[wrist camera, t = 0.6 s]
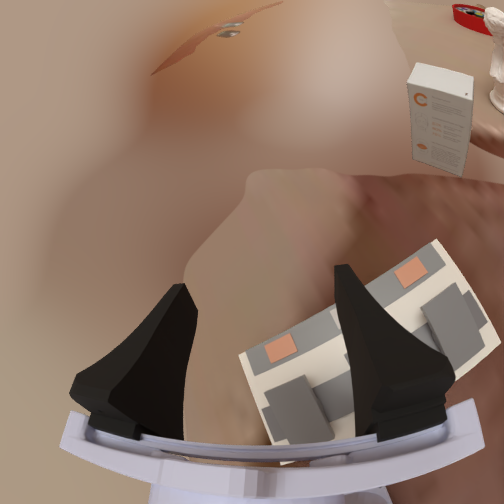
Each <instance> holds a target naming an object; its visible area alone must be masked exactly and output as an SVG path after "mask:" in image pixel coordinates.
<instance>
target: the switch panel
mask: <svg viewBox="0 0 504 504" xmlns="http://www.w3.org/2000/svg"><path fill="white" fill-rule="evenodd" d="M454 282H456V284H457V286H458V288H459V290H460V291H461V293H462V295H463V297H464V299H465V301H466V303H467V305H468V307H469V310H470V312H471V314H472V316H473V318H474V320H475V323H476V325H477V327H478V329H479V332H480V334H481V337H482V339H483V342H484V344H485V347H484V348H483V349H482V350H481V351H479V352H478V353H477V354H476V355H475V356H473V357H472V358H471V359H470V360H469V361H467V362H466V363H465V364H464V365H462V366H461V367H460V368H458V369H457V370H456V371H454V372H455V375H456V380H458V379H459V378H460V377H462V376H463V375H464V374H465V373H467V372H468V371H469V370H470V369H472V368H473V367H474V366H475V365H477V364H478V363H479V362H480V361H481V360H482V359H484V358H485V357H486V356H487V355H488V354H489V353H490V352H491V351H493V350H494V349H495V348H496V347H497V346H498V345H499V344H500V343H501V341H500V339H499V337H498V335H497V333H496V331H495V329H494V327H493V325H492V323H491V322H490V320H489V318H488V316H487V314H486V312H485V311H484V309H483V307H482V305H481V304H480V302H479V300H478V299H477V297H476V295H475V294H474V292H473V290H472V289H471V287H470V286H469V284H468V283H467V281H466V279H465V278H464V276H463V275H462V273H461V272H460V270H459V269H458V268H457V266H456V265H455V263H454V262H453V260H452V259H451V258H450V256H449V255H448V253H447V252H446V251H445V249H444V248H443V247H442V245H441V244H440V243H439V241H438V240H437V239H435V240H434V241H433V242H431V243H430V242H429V243H428V244H427V245H425V246H424V247H423V248H421V249H420V250H418V251H417V252H415V253H414V254H413V255H411V256H410V257H408V258H407V259H405V260H404V261H402V262H401V263H399V264H398V265H396V266H395V267H393V268H392V269H390V270H389V271H387V272H386V273H384V274H383V275H381V276H380V277H378V278H376V279H375V280H373V281H372V282H370V283H369V284H367V285H365V288H366V289H367V290H368V291H369V292H370V294H371V295H372V296H373V297H374V298H375V300H376V301H377V302H378V303H379V304H380V305H381V306H382V307H383V308H384V309H385V310H386V311H387V312H388V313H389V314H390V315H391V316H392V317H393V318H394V319H395V320H396V321H397V322H398V323H399V324H400V325H402V326H403V327H404V328H405V329H406V330H408V331H409V332H410V333H412V334H413V335H414V336H415V337H417V338H418V339H419V340H421V341H422V342H424V343H425V344H427V345H428V346H430V347H431V348H433V349H435V350H436V351H438V352H440V353H442V352H441V350H440V348H439V347H438V346H437V345H436V343H435V341H434V339H433V337H432V331H431V329H430V327H429V325H428V323H427V321H426V319H425V317H424V315H423V313H422V311H421V309H420V307H421V306H423V305H424V304H426V303H427V302H428V301H430V300H431V299H432V298H434V297H435V296H436V295H438V294H439V293H440V292H442V291H443V290H444V289H446V288H447V287H448V286H450V285H451V284H452V283H454ZM345 353H347V350H346V346H345V342H344V338H343V334H342V330H341V327H340V323H339V319H338V315H337V309H336V303H335V304H334V305H332V306H330V307H328V308H327V309H325V310H323V311H321V312H320V313H318V314H316V315H314V316H312V317H311V318H309V319H307V320H305V321H303V322H301V323H299V324H298V325H296V326H294V327H292V328H290V329H288V330H286V331H284V332H282V333H280V334H278V335H276V336H274V337H272V338H270V339H268V340H266V341H264V342H262V343H260V344H258V345H256V346H254V347H252V348H250V349H248V350H246V351H245V352H244V353H242V354H240V355H239V358H240V361H241V364H242V366H243V369H244V372H245V375H246V377H247V380H248V383H249V386H250V388H251V391H252V394H253V396H254V399H255V402H256V404H257V407H258V410H259V412H260V415H261V417H262V420H263V422H264V425H265V427H266V430H267V432H268V435H269V437H270V440H271V442H272V445H290V444H289V442H288V440H287V438H286V436H285V434H284V432H283V430H282V429H281V427H280V425H279V423H278V421H277V419H276V417H275V415H274V413H273V411H272V409H271V407H270V405H269V403H268V401H267V399H266V397H265V395H264V392H265V391H267V390H269V389H272V388H274V387H277V386H279V385H281V384H284V383H286V382H288V381H290V380H293V379H295V378H297V377H299V376H301V375H304V374H305V376H306V378H307V380H308V382H309V384H310V386H311V388H312V390H313V392H314V394H315V396H316V398H318V399H319V400H320V401H321V403H322V405H323V408H324V414H325V416H326V418H327V420H328V421H329V423H330V425H331V427H332V429H333V431H334V433H335V439H333V440H331V441H334V440H341V439H348V438H354V437H355V414H354V400H353V389H352V379H351V371H350V366H349V364H348V362H347V360H346V358H345V356H344V354H345ZM456 380H455V381H456ZM291 462H295V461H288V462H280V464H281V465H284V464H288V463H291Z"/></svg>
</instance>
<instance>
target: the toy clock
mask: <svg viewBox="0 0 504 504" xmlns="http://www.w3.org/2000/svg"><path fill="white" fill-rule="evenodd" d="M452 8H453V14H454V20H455V21H456V22H457V23H458V24H460V25H462V26H464V27H466V28H469V29H471V30H474V31H476V32H479V33H483V34H486V35H490V36H493V35H492V34H491V33H490V31H489V30H488V28H487V27H486V26H485V22H484V21H483V19H484V15H485V10H484V9H481V8H478V7H474V6H470V5H463V4H454V5H452Z"/></svg>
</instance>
